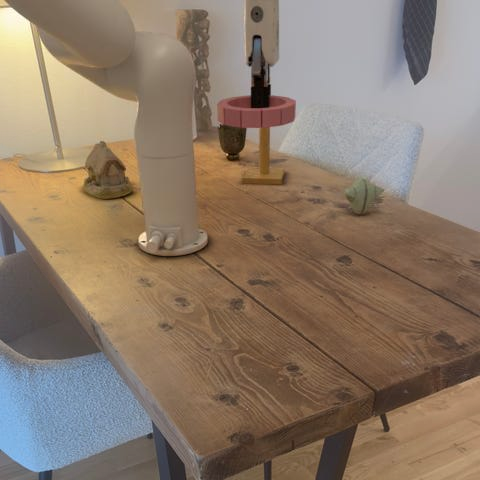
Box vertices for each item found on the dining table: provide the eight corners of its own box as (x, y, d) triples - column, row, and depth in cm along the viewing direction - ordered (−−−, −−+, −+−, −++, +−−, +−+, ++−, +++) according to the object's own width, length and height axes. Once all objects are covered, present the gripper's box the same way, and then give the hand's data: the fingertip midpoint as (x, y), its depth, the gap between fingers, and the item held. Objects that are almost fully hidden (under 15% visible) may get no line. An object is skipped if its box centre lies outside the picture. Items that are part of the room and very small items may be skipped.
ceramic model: (77, 185, 131) (68, 138, 125) (122, 178, 135) (116, 132, 129) (96, 202, 122) (87, 152, 115) (144, 193, 126) (139, 144, 120)
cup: (241, 164, 143) (241, 129, 138) (214, 162, 145) (213, 127, 140) (250, 156, 149) (250, 122, 144) (224, 154, 151) (223, 121, 146)
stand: (281, 184, 130) (283, 120, 121) (242, 183, 131) (242, 119, 122) (284, 173, 137) (286, 112, 128) (247, 172, 138) (247, 111, 129)
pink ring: (291, 128, 92) (291, 110, 91) (212, 127, 94) (211, 109, 92) (297, 111, 102) (298, 95, 101) (226, 111, 104) (225, 94, 102)
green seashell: (344, 219, 111) (348, 183, 107) (337, 212, 114) (340, 177, 110) (382, 215, 113) (387, 180, 108) (374, 209, 116) (378, 174, 111)
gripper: (279, -17, 84) (276, 120, 96) (288, -21, 96) (285, 102, 108) (229, -16, 85) (233, 120, 97) (245, -20, 97) (246, 102, 109)
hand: (260, 110), depth 102 cm, fingers closed on pink ring
